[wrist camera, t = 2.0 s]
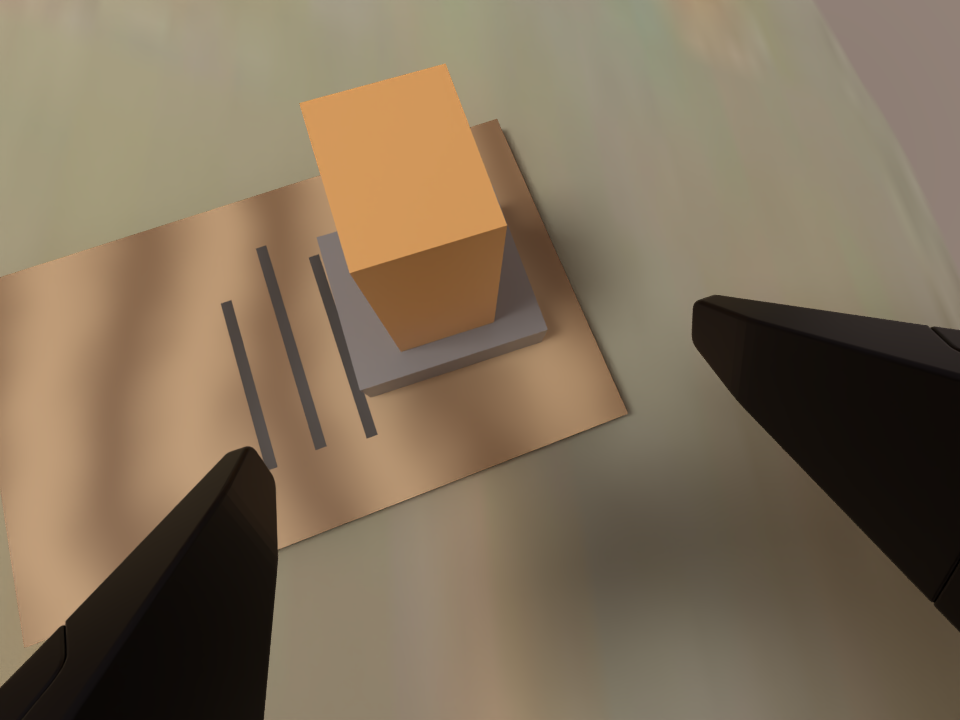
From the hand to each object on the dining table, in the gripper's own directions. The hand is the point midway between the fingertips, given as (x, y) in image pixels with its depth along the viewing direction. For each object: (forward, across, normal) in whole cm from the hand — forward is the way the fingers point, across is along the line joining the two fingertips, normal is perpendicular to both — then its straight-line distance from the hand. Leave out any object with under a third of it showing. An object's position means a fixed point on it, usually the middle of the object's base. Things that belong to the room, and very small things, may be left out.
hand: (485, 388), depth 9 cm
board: (+13, +7, +4) cm, 15 cm away
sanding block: (+13, 0, +4) cm, 13 cm away
